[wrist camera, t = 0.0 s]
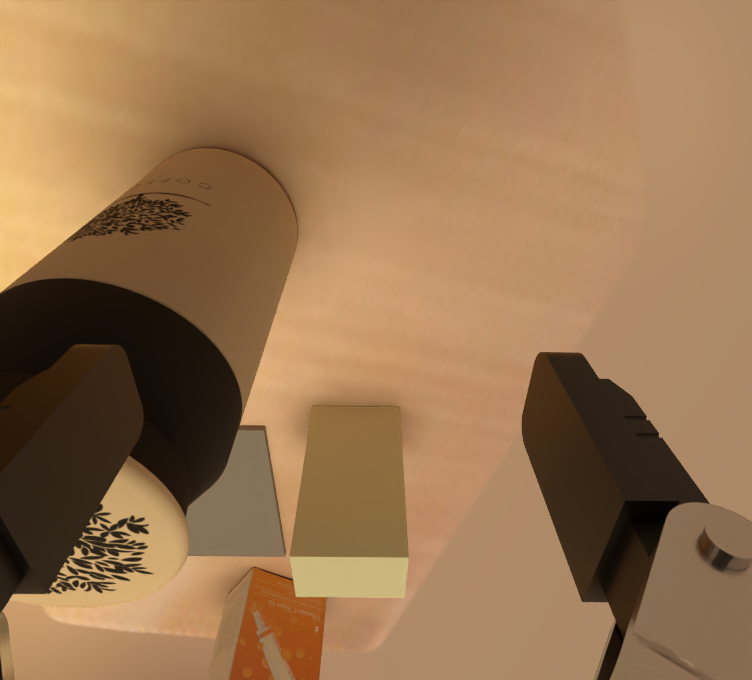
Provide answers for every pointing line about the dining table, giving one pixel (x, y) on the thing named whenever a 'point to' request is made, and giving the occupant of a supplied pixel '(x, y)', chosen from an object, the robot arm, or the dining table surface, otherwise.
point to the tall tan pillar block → (351, 506)
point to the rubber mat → (239, 505)
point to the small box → (268, 632)
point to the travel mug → (158, 348)
